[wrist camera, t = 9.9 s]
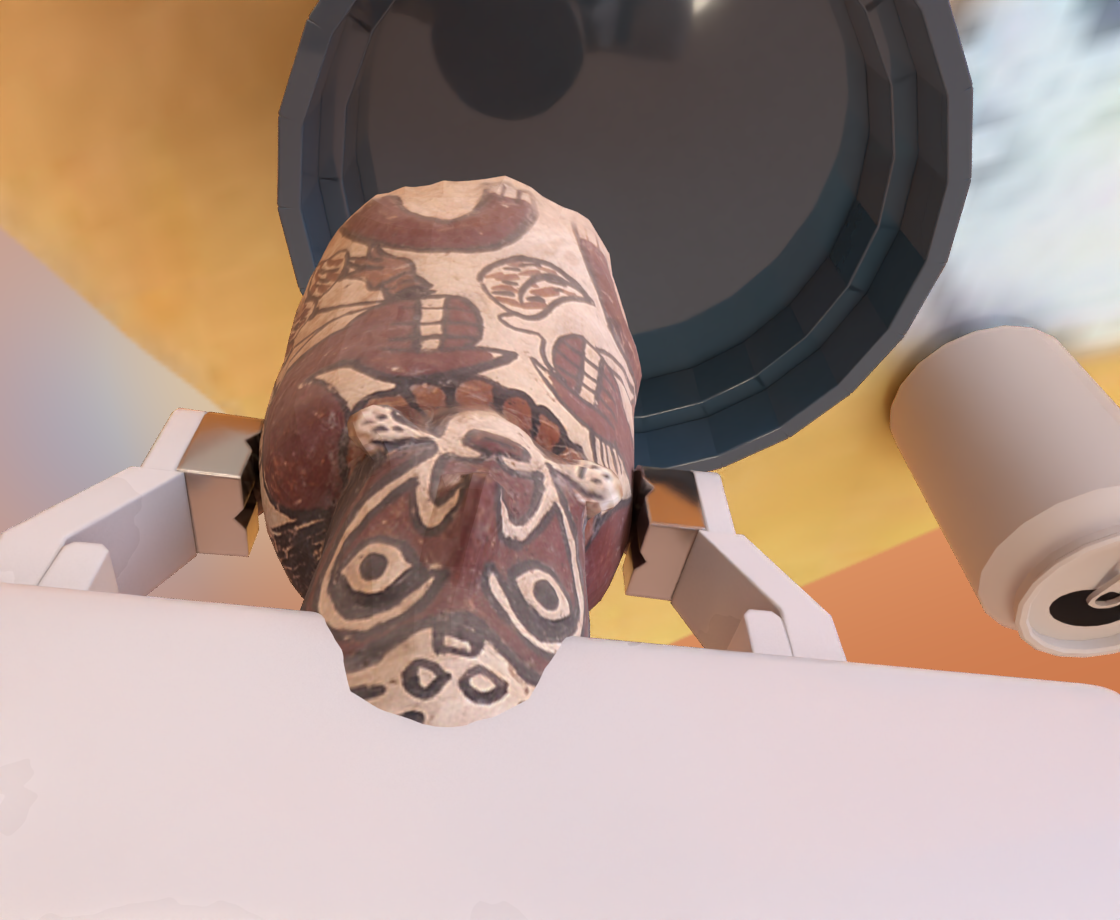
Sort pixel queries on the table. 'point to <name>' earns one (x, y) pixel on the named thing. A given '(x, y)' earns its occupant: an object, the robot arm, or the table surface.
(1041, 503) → the can
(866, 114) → the bowl
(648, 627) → the table surface
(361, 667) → the figurine
